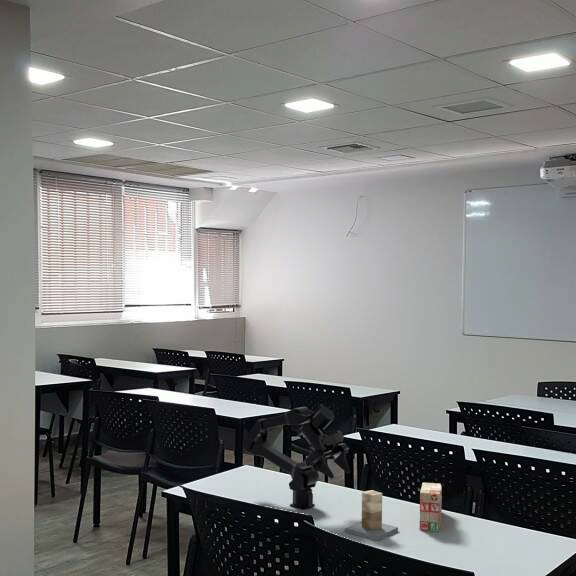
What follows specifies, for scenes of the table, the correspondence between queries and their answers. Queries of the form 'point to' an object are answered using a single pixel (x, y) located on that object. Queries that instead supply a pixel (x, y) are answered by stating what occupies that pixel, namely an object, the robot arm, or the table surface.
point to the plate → (373, 535)
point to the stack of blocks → (430, 506)
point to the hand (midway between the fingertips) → (341, 475)
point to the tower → (371, 510)
